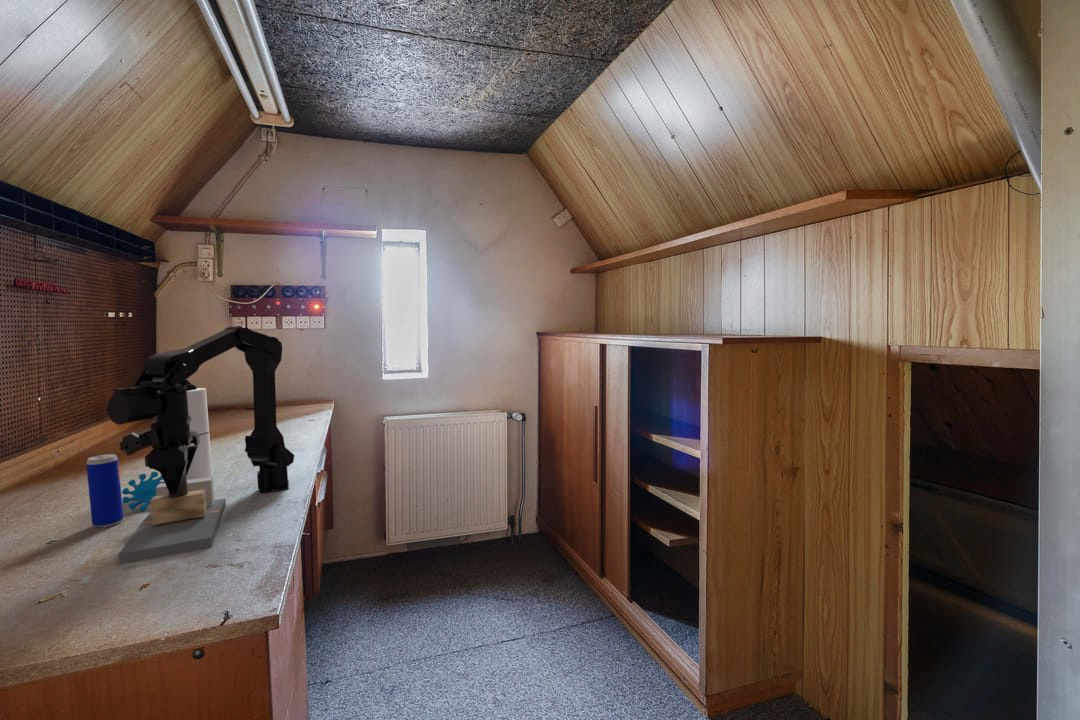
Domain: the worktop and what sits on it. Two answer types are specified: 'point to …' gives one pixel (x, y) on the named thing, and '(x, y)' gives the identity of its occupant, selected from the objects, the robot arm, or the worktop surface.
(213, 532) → the cracker base
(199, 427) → the tall white block
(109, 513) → the beverage can
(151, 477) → the blue virus model
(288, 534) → the worktop surface
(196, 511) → the lever handle
